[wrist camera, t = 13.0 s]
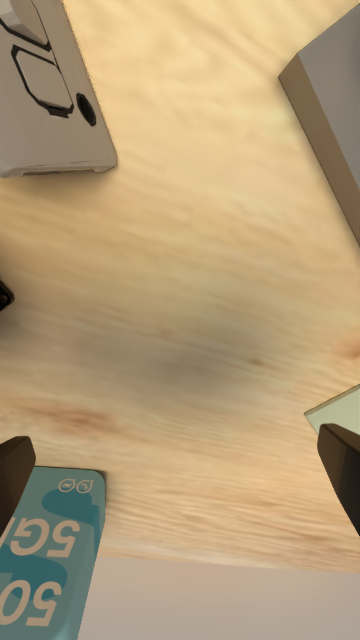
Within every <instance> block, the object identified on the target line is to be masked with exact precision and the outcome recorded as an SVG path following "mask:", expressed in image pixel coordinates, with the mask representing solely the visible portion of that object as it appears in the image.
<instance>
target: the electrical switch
mask: <svg viewBox="0 0 360 640" xmlns="http://www.w3.org/2000/svg"><path fill="white" fill-rule="evenodd" d="M116 162H117V156H116V153H115V150H114V147H113V144H112V141H111V138H110V136H109V133H108V130H107V127H106V124H105V122H104V119H103V116H102V113H101V111H100V108H99V105H98V102H97V99H96V97H95V94H94V91H93V88H92V85H91V83H90V80H89V77H88V74H87V72H86V69H85V66H84V63H83V60H82V58H81V55H80V52H79V49H78V46H77V44H76V41H75V38H74V35H73V33H72V30H71V27H70V24H69V21H68V19H67V16H66V13H65V10H64V7H63V5H62V2H61V0H0V178H8V177H23V176H25V175H41V174H58V173H60V172H62V171H68V170H91V169H94V171H95V172H105V171H106V170H108V169H110V168H112V167H114V166H116Z"/></svg>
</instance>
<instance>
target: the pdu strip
mask: <svg viewBox="0 0 360 640" xmlns="http://www.w3.org/2000/svg"><path fill="white" fill-rule="evenodd" d="M278 78H279V80H280V82H281V84H282V86H283V88H284V90H285V92H286V94H287V96H288V98H289V100H290V102H291V105H292V107H293V109H294V111H295V113H296V115H297V117H298V119H299V121H300V123H301V125H302V127H303V129H304V132H305V134H306V136H307V138H308V140H309V142H310V144H311V146H312V148H313V150H314V152H315V154H316V156H317V159H318V161H319V163H320V165H321V167H322V169H323V171H324V173H325V175H326V177H327V179H328V181H329V183H330V186H331V188H332V190H333V192H334V194H335V196H336V198H337V200H338V202H339V204H340V206H341V208H342V210H343V212H344V215H345V217H346V219H347V221H348V223H349V225H350V227H351V229H352V231H353V233H354V235H355V237H356V239H357V242H358V244H359V246H360V3H359V4H358V5H357V6H356V7H354V8H353V9H352V10H351V11H349V12H348V13H347V14H346V15H344V16H343V17H342V18H341V19H339V20H338V21H337V22H336V23H334V24H333V25H332V26H331V27H329V28H328V29H327V30H326V31H324V32H323V33H322V34H321V35H319V36H318V37H317V38H316V39H314V40H313V41H312V42H311V43H309V44H308V45H307V46H306V47H304V48H303V49H302V50H301V51H299V52H298V53H297V54H296V55H295V57H294V58H293V59H292V60H291V61H290V63H289V64H288V65H287V66H286V68H285V69H284V70H283V71H282V72H281V74H280V75H279V76H278Z"/></svg>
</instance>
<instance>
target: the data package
mask: <svg viewBox="0 0 360 640" xmlns="http://www.w3.org/2000/svg"><path fill="white" fill-rule="evenodd" d="M104 522H105V482H104V479H103V477H102V476H101V475H100V474H99V473H98V472H96V471H93V470H82V469H66V468H50V467H34V468H33V470H32V473H31V475H30V478H29V480H28V482H27V485H26V487H25V490H24V492H23V494H22V497H21V499H20V502H19V504H18V506H17V508H16V510H15V512H14V514H13V516H12V518H11V520H10V522H9V523H8V525H7V527H6V529H5V531H4V533H3V534H2V536H1V538H0V640H77V637H78V633H79V629H80V625H81V620H82V616H83V612H84V608H85V603H86V599H87V595H88V590H89V586H90V582H91V577H92V573H93V568H94V565H95V560H96V556H97V552H98V548H99V543H100V539H101V535H102V530H103V526H104Z"/></svg>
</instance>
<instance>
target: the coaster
mask: <svg viewBox="0 0 360 640" xmlns="http://www.w3.org/2000/svg"><path fill="white" fill-rule="evenodd" d="M304 414H305V416H306V417H307V419H308V420H309V422H310V423H311V425H312V426H313V428H314V429H315V431H316V432H317V433H318V435H319V428H320V425H321V424H323V423H335V424H337V425H339V426H342V427H344V428H346V429H348V430H350V431H352V432H354V433H357V434H359V435H360V385H358V386H356V387H354V388H352V389H350V390H348V391H346V392H344V393H342V394H341V395H339V396H337V397H335V398H333V399H331V400H329V401H327V402H325V403H323V404H321V405H319V406H317V407H315V408H314V409H312V410H310V411H308V412H306V413H304Z"/></svg>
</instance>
